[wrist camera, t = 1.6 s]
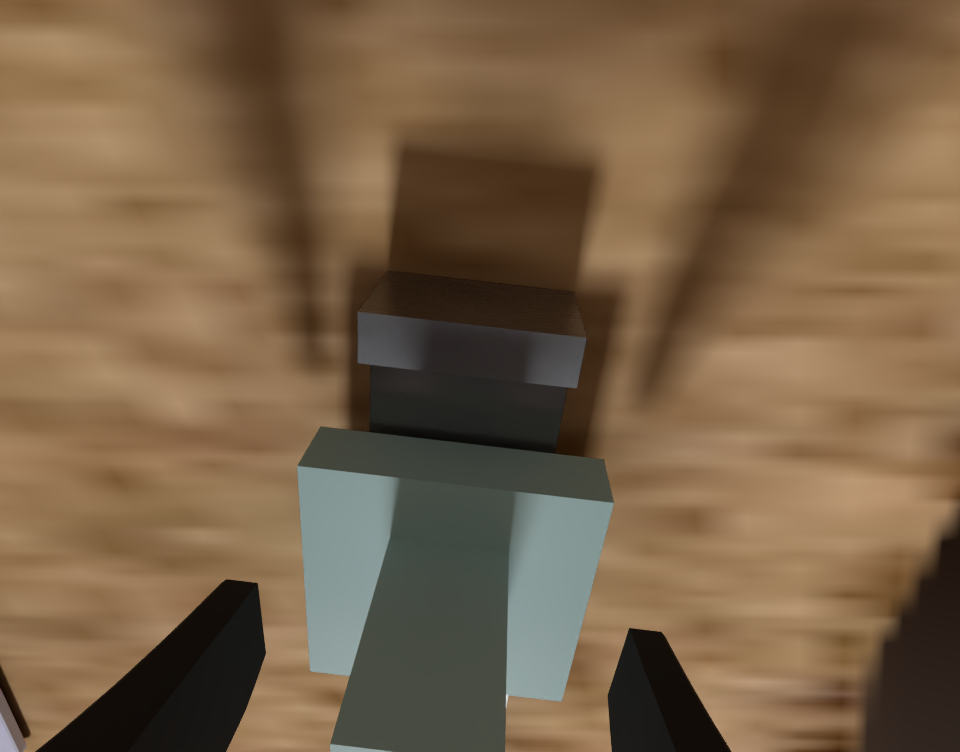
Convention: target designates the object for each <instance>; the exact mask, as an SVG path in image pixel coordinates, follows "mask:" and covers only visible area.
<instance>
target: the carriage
mask: <svg viewBox="0 0 960 752" xmlns="http://www.w3.org/2000/svg"><path fill="white" fill-rule="evenodd" d="M297 470H298V486H299V502H300V517H301V533H302V549H303V565H304V581H305V597H306V613H307V628H308V644H309V660H310V671H312V672H320V673H328V674H337V675H345V676H350V677H349V681H348V684H347V688H346V691H345V695H344V698H343V702H342V705H341V709H340V712H339V716H338V719H337V722H336V726H335V729H334V733H333V736H332V740H331V743H330V749H331V752H505V725H506V695H511V696H519V697H527V698H536V699H544V700H552V701H560V702H562V698H563V695H564V691H565V687H566V683H567V679H568V676H569V672H570V668H571V664H572V661H573V657H574V653H575V649H576V645H577V642H578V638H579V634H580V630H581V626H582V623H583V619H584V615H585V611H586V607H587V604H588V600H589V596H590V592H591V588H592V585H593V581H594V577H595V573H596V569H597V566H598V562H599V558H600V554H601V551H602V547H603V543H604V539H605V535H606V532H607V528H608V524H609V520H610V516H611V513H612V509H613V505H614V501H613V497H612V492H611V488H610V484H609V480H608V475H607V471H606V467H605V462H604V459H595V458H587V457H578V456H569V455H561V454H552V453H544V452H535V451H526V450H518V449H509V448H501V447H492V446H483V445H475V444H466V443H458V442H449V441H440V440H432V439H423V438H415V437H406V436H397V435H389V434H380V433H372V432H363V431H354V430H346V429H337V428H329V427H320V428H319V430H318V432H317V434H316V435H315V437H314V439H313V440H312V442H311V444H310V445H309V447H308V449H307V450H306V452H305V454H304V455H303V457H302V459H301V461H300V462H299V464H298V466H297Z"/></svg>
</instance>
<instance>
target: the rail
mask: <svg viewBox="0 0 960 752" xmlns="http://www.w3.org/2000/svg"><path fill="white" fill-rule="evenodd" d="M586 340H587V337H586V333H585V329H584V326H583V322H582V319H581V315H580V312H579V308H578V305H577V301H576V297H575V294H574V292H568V291H560V290H551V289H542V288H533V287H524V286H515V285H507V284H498V283H489V282H480V281H471V280H462V279H454V278H445V277H436V276H427V275H418V274H410V273H401V272H392V271H387V272H386V274H385V275H384V277H383V278H382V279H381V281H380V282H379V283H378V285H377V286H376V287H375V289H374V290H373V291H372V293H371V294H370V296H369V297H368V298H367V300H366V301H365V302H364V304H363V305H362V306H361V308H360V309H359V311H358V363H359V364H368V365H370V432H372V433H380V434H389V435H397V436H406V437H415V438H423V439H432V440H440V441H449V442H458V443H466V444H475V445H483V446H492V447H501V448H509V449H518V450H526V451H535V452H544V453H552V454H555V450H556V445H557V440H558V435H559V430H560V424H561V419H562V414H563V409H564V404H565V398H566V393H567V388H576V389H577V385H578V380H579V375H580V370H581V365H582V360H583V355H584V350H585V345H586ZM507 700H508V695H506V705H507Z"/></svg>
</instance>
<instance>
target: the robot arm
mask: <svg viewBox="0 0 960 752" xmlns="http://www.w3.org/2000/svg"><path fill="white" fill-rule="evenodd" d="M265 654H266V650H265V642H264V633H263V625H262V616H261V608H260V599H259V590H258V583H252V582H244V581H236V580H225V581H224V582H222V583H221V584H220V585H219V586H218V587H217V588H216V589H215V590H214V591H213V592H212V593H211V594H210V595H209V596H208V597H207V598H206V599H205V600H204V601H203V602H202V603H201V604H200V605H199V606H198V607H197V608H196V609H195V610H194V611H193V612H192V613H191V614H190V615H189V616H188V617H187V618H186V619H185V620H183V621H182V622H181V623H180V624H179V625H178V626H177V627H176V628H175V629H174V630H173V631H172V632H171V633H170V634H169V635H168V636H167V637H166V638H165V639H164V640H163V641H162V642H161V643H160V644H159V645H157V646H156V647H155V648H154V649H153V650H152V651H151V652H150V653H149V654H148V655H147V656H146V657H144V658H143V659H142V660H141V661H140V662H139V663H138V664H137V665H136V666H135V667H134V668H133V669H131V670H130V671H129V672H128V673H127V674H126V675H125V676H124V677H123V678H122V679H121V680H119V681H118V682H117V683H116V684H115V685H114V686H113V687H112V688H111V689H109V690H108V691H107V692H106V693H105V694H104V695H102V696H101V697H100V698H99V699H98V700H97V701H95V702H94V703H93V704H92V705H91V706H90V707H88V708H87V709H86V710H85V711H84V712H83V713H81V714H80V715H79V716H78V717H77V718H76V719H74V720H73V721H72V722H71V723H70V724H69V725H67V726H66V727H65V728H64V729H63V730H61V731H60V732H59V733H58V734H57V735H55V736H54V737H53V738H52V739H50V740H49V741H48V742H47V743H46V744H44V745H43V746H42V747H41V748H39V749H38V750H37V751H36V752H226V751H227V748H228V746H229V744H230V742H231V740H232V738H233V736H234V734H235V732H236V730H237V727H238V725H239V723H240V721H241V719H242V717H243V715H244V712H245V710H246V708H247V705H248V702H249V700H250V697H251V694H252V691H253V689H254V686H255V683H256V680H257V678H258V675H259V672H260V669H261V666H262V663H263V660H264V657H265ZM608 706H609V720H610V734H611V745H612V752H731V750H730V749H729V747H728V745H727V744H726V742H725V741H724V739H723V737H722V736H721V734H720V732H719V731H718V729H717V728H716V726H715V724H714V723H713V721H712V719H711V718H710V716H709V714H708V713H707V711H706V709H705V707H704V706H703V704H702V702H701V700H700V699H699V697H698V695H697V694H696V692H695V690H694V688H693V687H692V685H691V683H690V681H689V679H688V678H687V676H686V674H685V672H684V670H683V669H682V667H681V665H680V663H679V661H678V660H677V658H676V656H675V654H674V652H673V650H672V648H671V647H670V645H669V643H668V641H667V639H666V637H665V636H664V635H663V634H662V632H657V631H649V630H641V629H632V628H629V631H628V634H627V637H626V640H625V643H624V646H623V650H622V653H621V656H620V659H619V662H618V665H617V668H616V671H615V674H614V678H613V681H612V684H611V687H610V690H609V693H608ZM26 748H27V747H26V742H25V740H24V738H23V736H22V733H21V731H20V729H19V727H18V725H17V723H16V721H15V718H14V716H13V714H12V712H11V710H10V708H9V705H8V703H7V701H6V699H5V697H4V695H3V692H2V690H1V688H0V752H24V751H25V749H26Z"/></svg>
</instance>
